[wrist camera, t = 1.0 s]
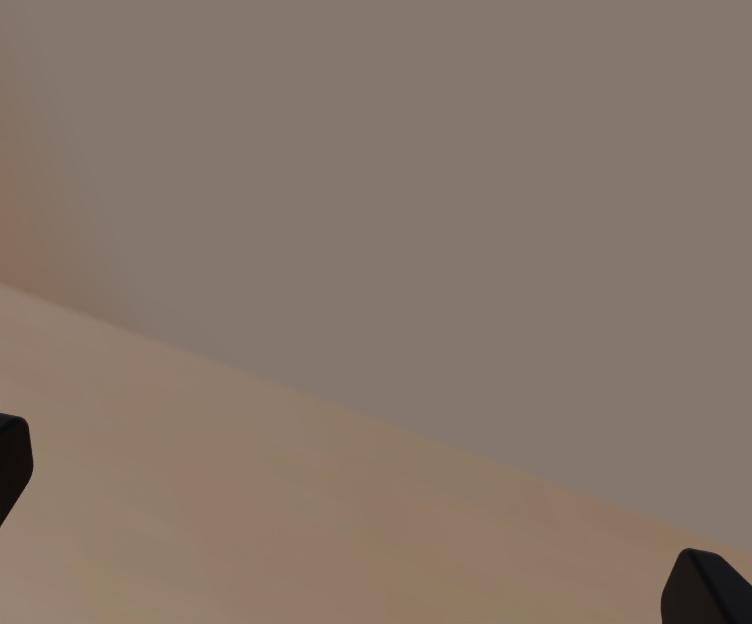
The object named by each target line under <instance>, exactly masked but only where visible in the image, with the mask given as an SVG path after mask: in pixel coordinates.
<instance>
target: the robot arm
mask: <svg viewBox="0 0 752 624" xmlns="http://www.w3.org/2000/svg"><path fill="white" fill-rule="evenodd" d="M32 472H33V456H32V448H31V440H30V433H29V426H28V423H27V422H26V420H25V419H23V418H22V417H19V416H14V415H9V414H4V413H0V527H1V525H2V524H3V522H4V520H5V519H6V517H7V516H8V514H9V512H10V511H11V509H12V508H13V506H14V504H15V503H16V501H17V500H18V498H19V497H20V495H21V493H22V492H23V490H24V489H25V487H26V485H27V484H28V482H29V480H30V478H31V475H32ZM661 616H662V624H752V585H751V584H750V583H748V582H747V581H746V580H745V579H744V578H743V577H742V576H741V575H740V574H739V573H738V572H737V571H736V570H735V569H734V568H733V567H732V566H731V565H730V564H729V563H728V562H727V561H725V560H724V559H723V558H722V557H721V556H720V555H718V554H716V553H713V552H708V551H702V550H697V549H692V548H687V549H684V550H682V551H681V552H680V554H679V556H678V558H677V560H676V562H675V565H674V567H673V569H672V571H671V574H670V576H669V578H668V581H667V583H666V585H665V587H664V590H663V593H662V597H661Z"/></svg>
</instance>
